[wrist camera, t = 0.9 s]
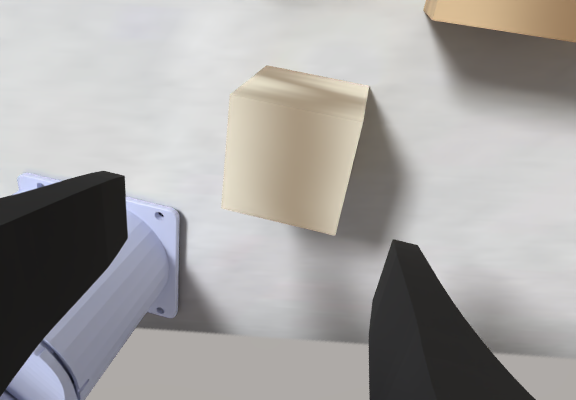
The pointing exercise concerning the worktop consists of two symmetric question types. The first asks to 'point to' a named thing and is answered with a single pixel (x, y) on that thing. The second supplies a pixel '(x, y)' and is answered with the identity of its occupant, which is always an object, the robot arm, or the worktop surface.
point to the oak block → (510, 16)
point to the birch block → (292, 147)
